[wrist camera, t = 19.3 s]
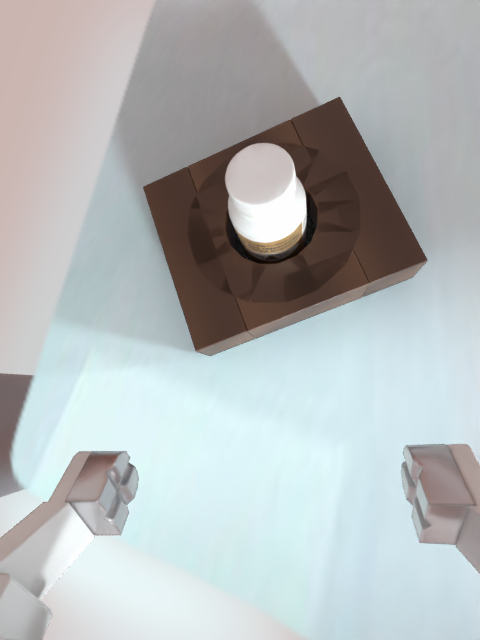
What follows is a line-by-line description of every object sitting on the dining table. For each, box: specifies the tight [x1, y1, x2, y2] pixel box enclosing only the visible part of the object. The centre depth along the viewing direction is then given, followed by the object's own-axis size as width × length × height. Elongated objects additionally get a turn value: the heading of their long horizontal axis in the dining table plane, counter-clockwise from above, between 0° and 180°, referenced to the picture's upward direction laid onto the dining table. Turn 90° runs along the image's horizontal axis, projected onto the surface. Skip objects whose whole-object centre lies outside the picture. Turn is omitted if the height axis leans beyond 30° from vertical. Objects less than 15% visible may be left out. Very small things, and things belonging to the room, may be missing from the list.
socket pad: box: [143, 97, 427, 356], centre depth 23 cm, size 14×12×3 cm
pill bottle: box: [225, 143, 307, 264], centre depth 21 cm, size 4×4×8 cm
